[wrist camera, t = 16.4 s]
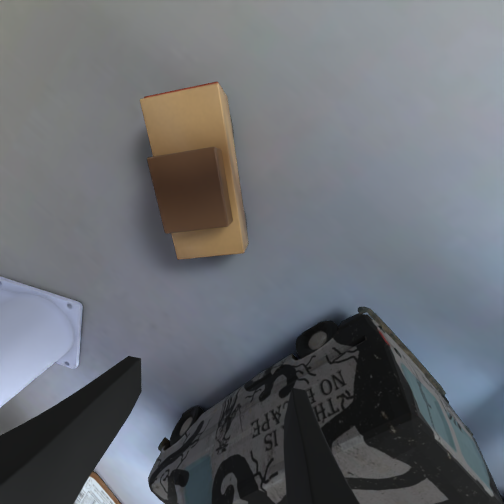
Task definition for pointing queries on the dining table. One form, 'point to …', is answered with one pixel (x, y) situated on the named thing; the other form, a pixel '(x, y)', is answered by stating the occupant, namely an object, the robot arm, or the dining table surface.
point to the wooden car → (196, 171)
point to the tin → (96, 492)
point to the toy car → (331, 428)
